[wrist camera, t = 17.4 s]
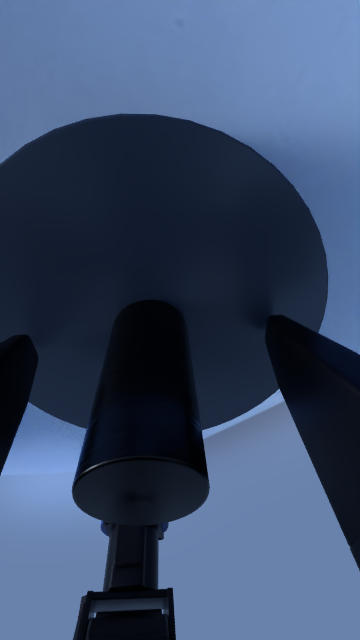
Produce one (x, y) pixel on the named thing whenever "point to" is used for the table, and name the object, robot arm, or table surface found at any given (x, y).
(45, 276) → the lid
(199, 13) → the table surface
